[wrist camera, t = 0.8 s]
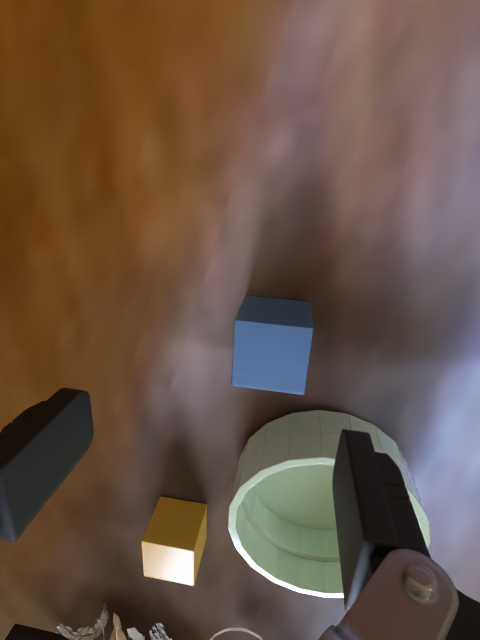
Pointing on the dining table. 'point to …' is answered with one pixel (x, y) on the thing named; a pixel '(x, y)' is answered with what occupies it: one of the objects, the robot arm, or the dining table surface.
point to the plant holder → (133, 630)
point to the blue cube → (272, 344)
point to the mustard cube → (175, 540)
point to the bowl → (300, 499)
